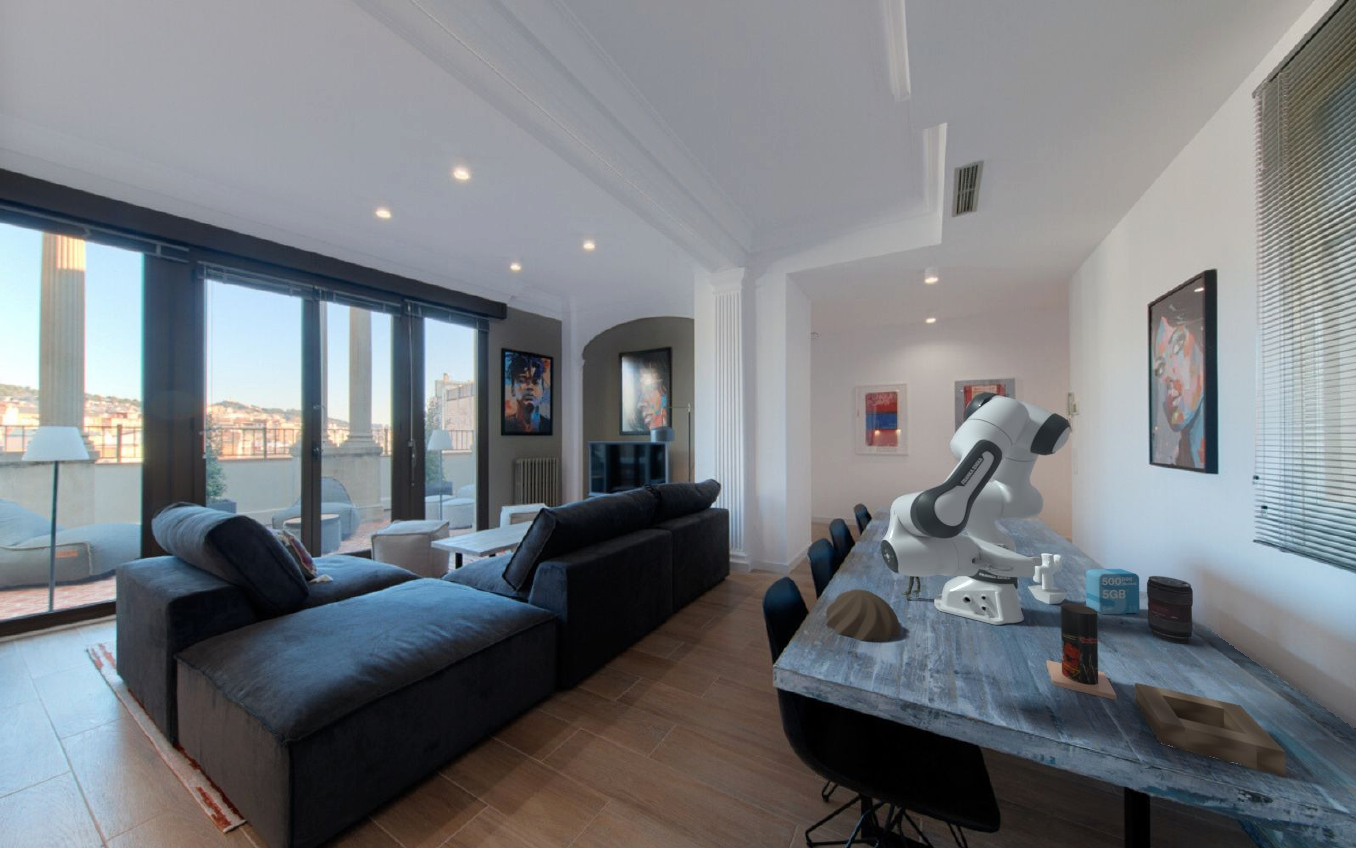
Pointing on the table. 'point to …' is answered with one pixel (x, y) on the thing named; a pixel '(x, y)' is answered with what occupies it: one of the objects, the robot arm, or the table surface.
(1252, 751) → the block
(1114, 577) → the data package
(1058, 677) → the terracotta tile
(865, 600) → the decorative dome
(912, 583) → the statue
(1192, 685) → the table surface
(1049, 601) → the figurine
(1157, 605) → the camera lens
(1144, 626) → the table surface
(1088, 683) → the deodorant
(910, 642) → the table surface
